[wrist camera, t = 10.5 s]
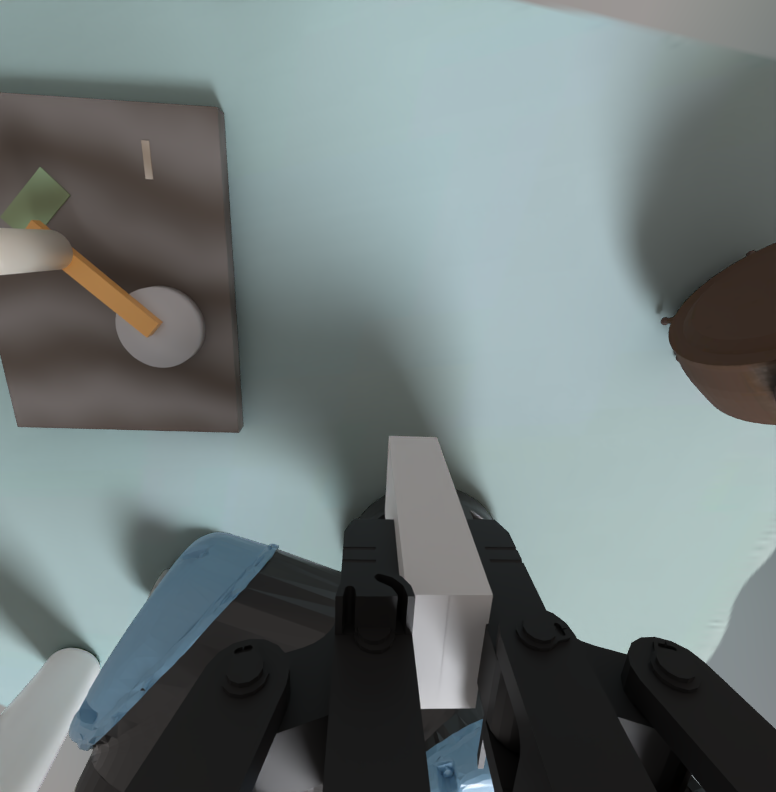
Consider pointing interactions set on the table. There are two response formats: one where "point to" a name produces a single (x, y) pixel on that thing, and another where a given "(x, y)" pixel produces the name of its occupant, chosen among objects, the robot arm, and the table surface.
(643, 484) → the table surface
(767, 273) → the alarm clock
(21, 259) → the dial
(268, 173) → the table surface
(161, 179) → the dial plate
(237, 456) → the table surface
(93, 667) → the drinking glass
